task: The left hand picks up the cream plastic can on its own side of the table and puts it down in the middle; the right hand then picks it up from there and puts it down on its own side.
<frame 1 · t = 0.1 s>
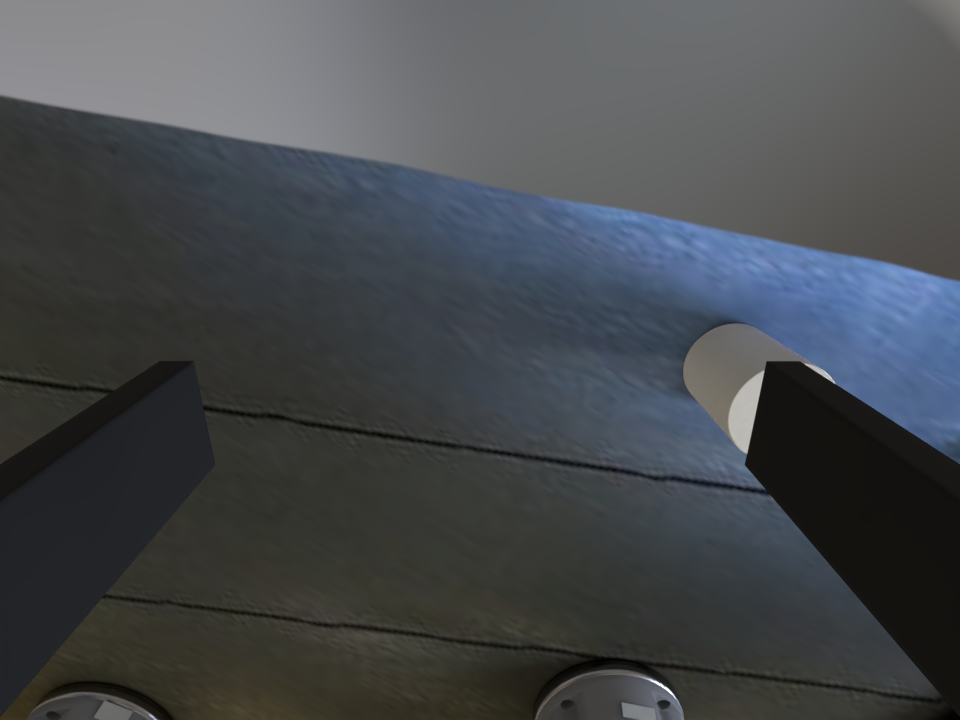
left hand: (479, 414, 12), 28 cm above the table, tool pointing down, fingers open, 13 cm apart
can: (728, 366, 42), on the table
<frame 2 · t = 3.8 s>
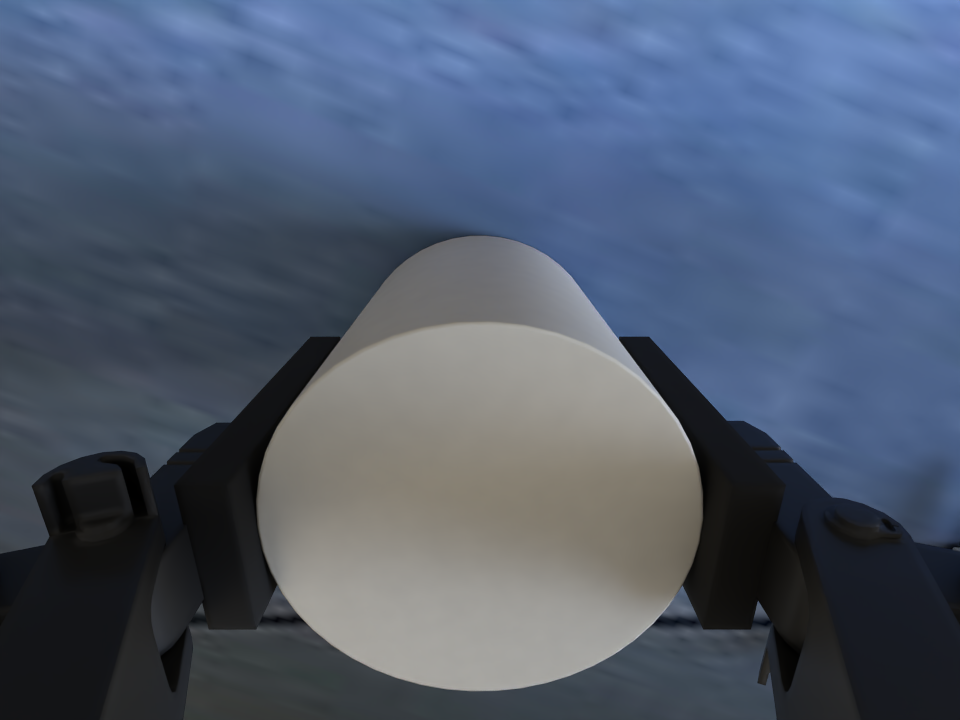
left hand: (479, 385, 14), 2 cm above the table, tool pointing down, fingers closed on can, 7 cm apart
can: (479, 354, 16), on the table, touching left hand
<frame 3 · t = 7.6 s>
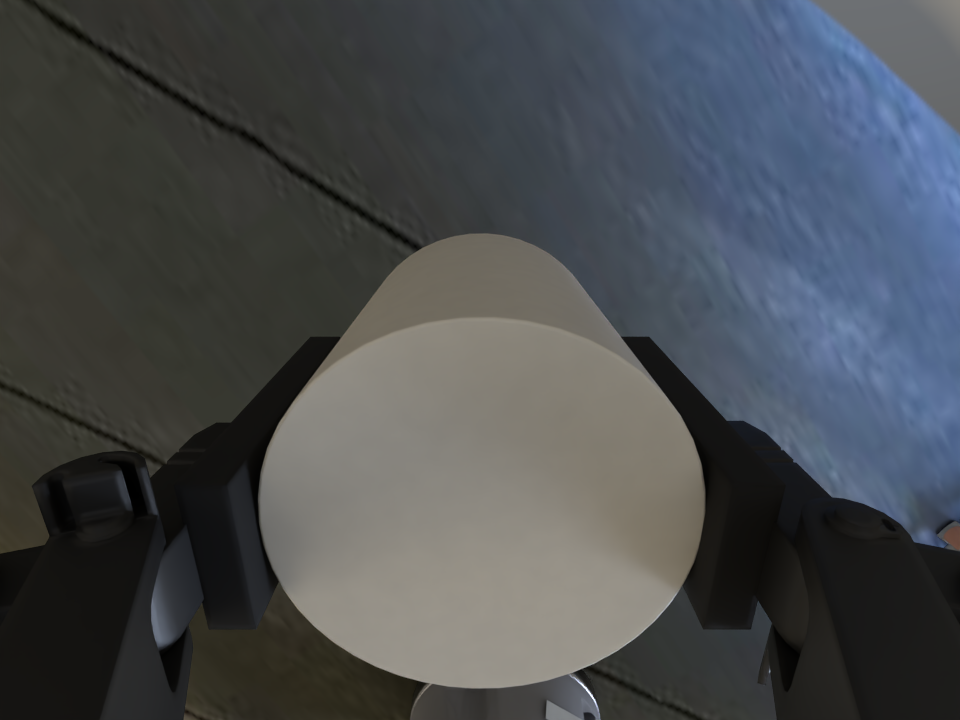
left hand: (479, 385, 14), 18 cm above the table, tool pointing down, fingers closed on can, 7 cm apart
can: (480, 352, 16), point 16 cm above the table, touching left hand
when the left hand's fingers open (4 cm above the table, at t = 11.9 s): can drops 1 cm, on the table.
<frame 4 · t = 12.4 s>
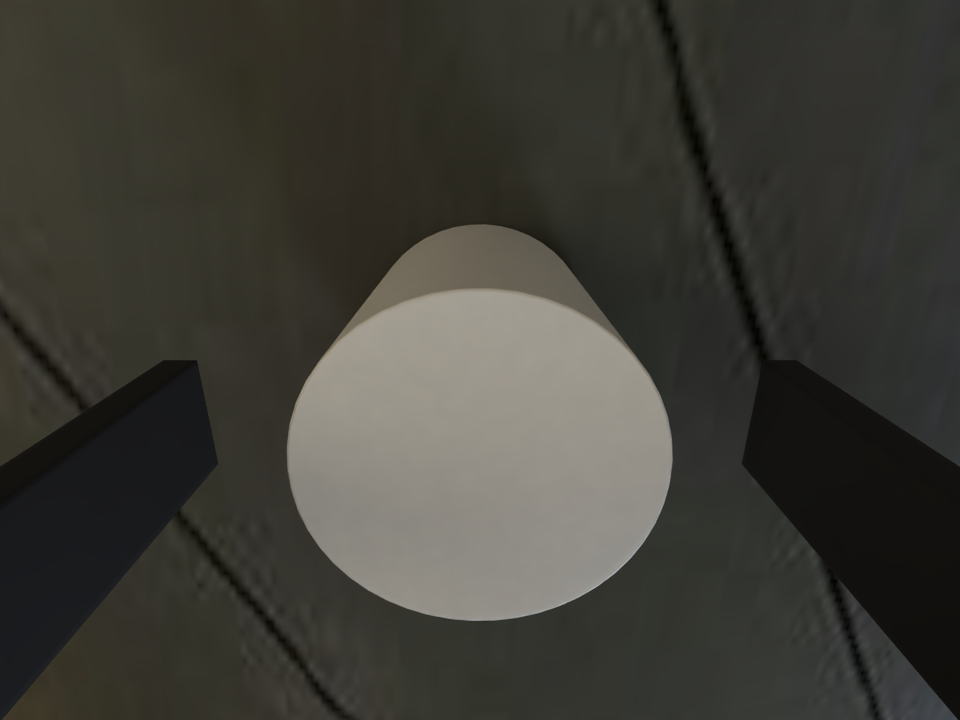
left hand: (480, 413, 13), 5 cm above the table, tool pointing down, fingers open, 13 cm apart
can: (479, 334, 18), on the table
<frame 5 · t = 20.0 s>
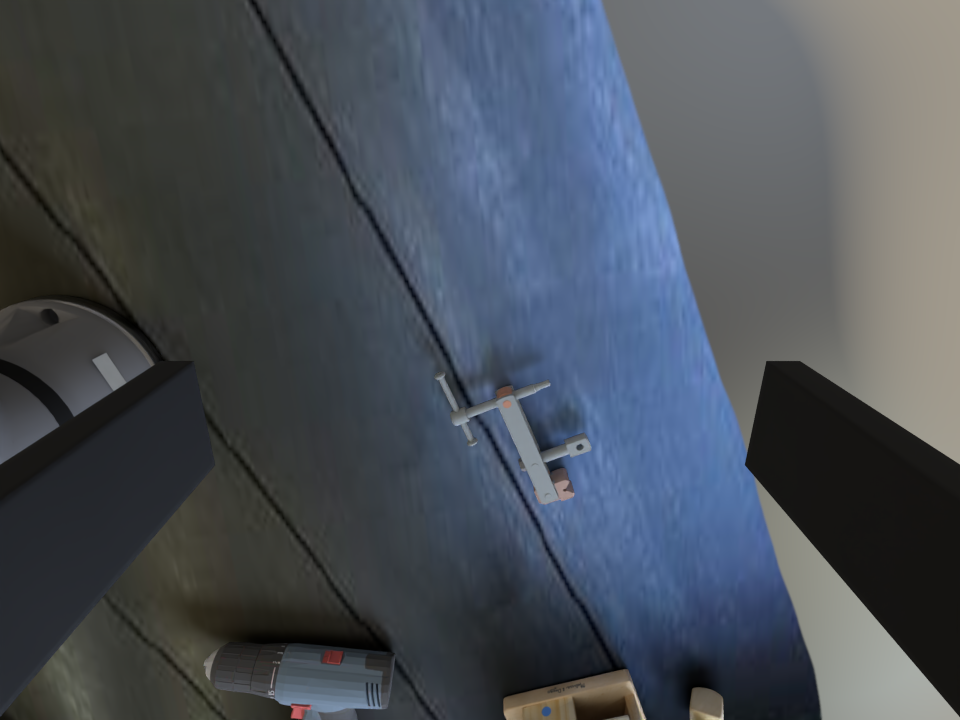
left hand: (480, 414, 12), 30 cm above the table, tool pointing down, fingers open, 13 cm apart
power drill: (306, 695, 59), on the table
clamp: (519, 422, 47), on the table
pounding bench toy: (616, 714, 60), on the table
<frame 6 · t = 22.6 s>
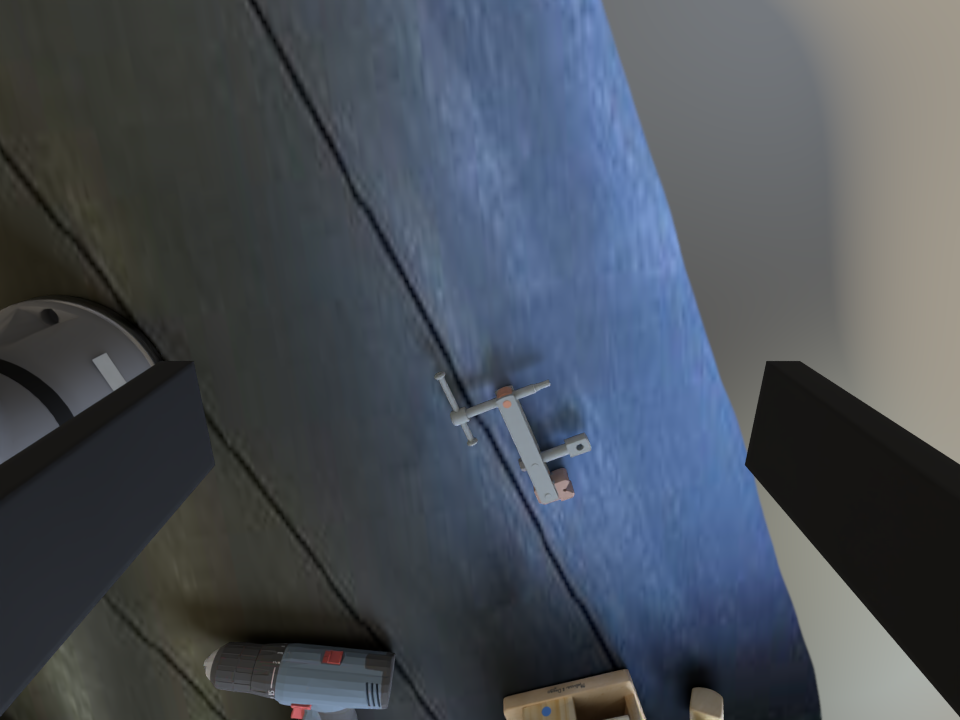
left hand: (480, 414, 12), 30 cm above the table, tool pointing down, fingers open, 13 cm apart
power drill: (306, 695, 59), on the table
clamp: (519, 422, 47), on the table
pounding bench toy: (616, 714, 60), on the table
when the right hand's fingers open (4 cm above the table, at t = 25.2 s): can drops 1 cm, on the table.
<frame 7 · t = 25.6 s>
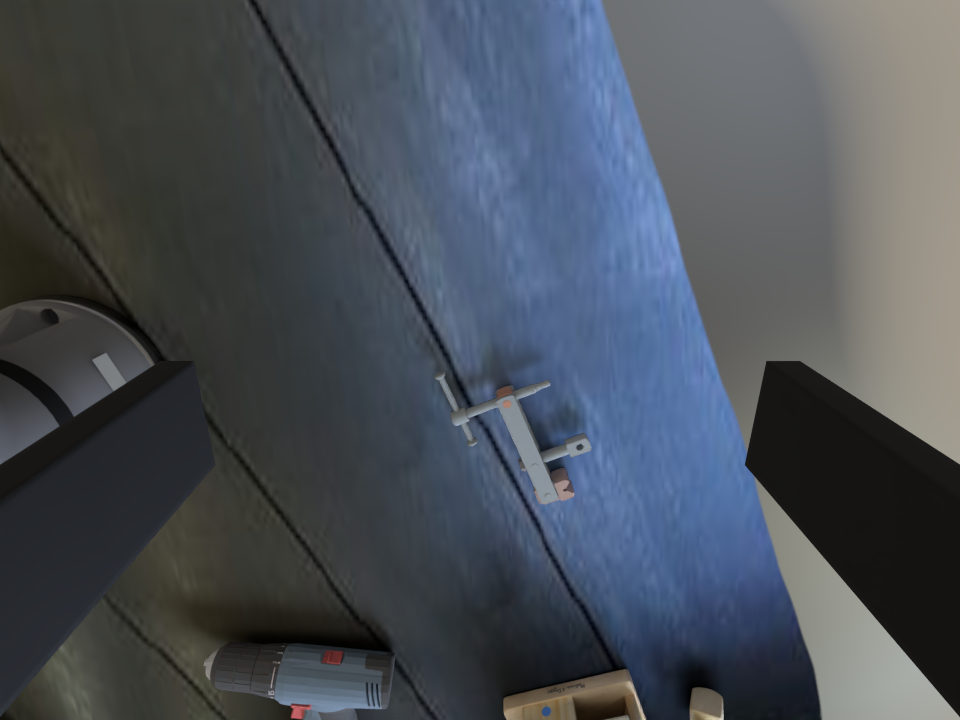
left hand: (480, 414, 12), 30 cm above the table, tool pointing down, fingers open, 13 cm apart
power drill: (306, 695, 59), on the table
clamp: (519, 422, 47), on the table
pounding bench toy: (616, 714, 60), on the table
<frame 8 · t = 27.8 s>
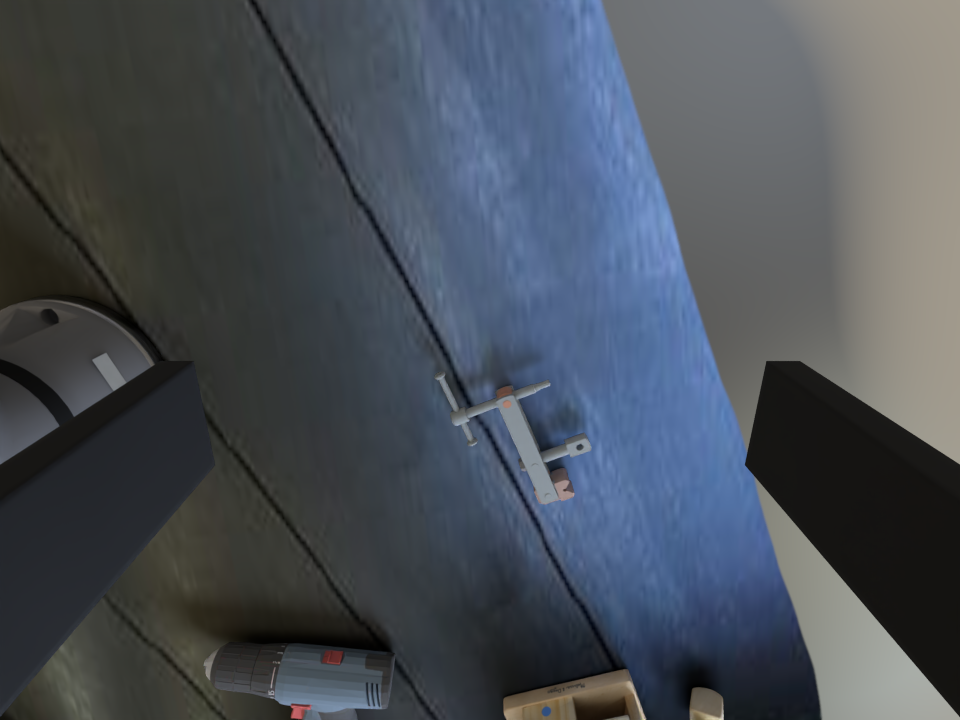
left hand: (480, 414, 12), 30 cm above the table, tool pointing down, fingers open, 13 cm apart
power drill: (306, 695, 59), on the table
clamp: (519, 422, 47), on the table
pounding bench toy: (616, 714, 60), on the table
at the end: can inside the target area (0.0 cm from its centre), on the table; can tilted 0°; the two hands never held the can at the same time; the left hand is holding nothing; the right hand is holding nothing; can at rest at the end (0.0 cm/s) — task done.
